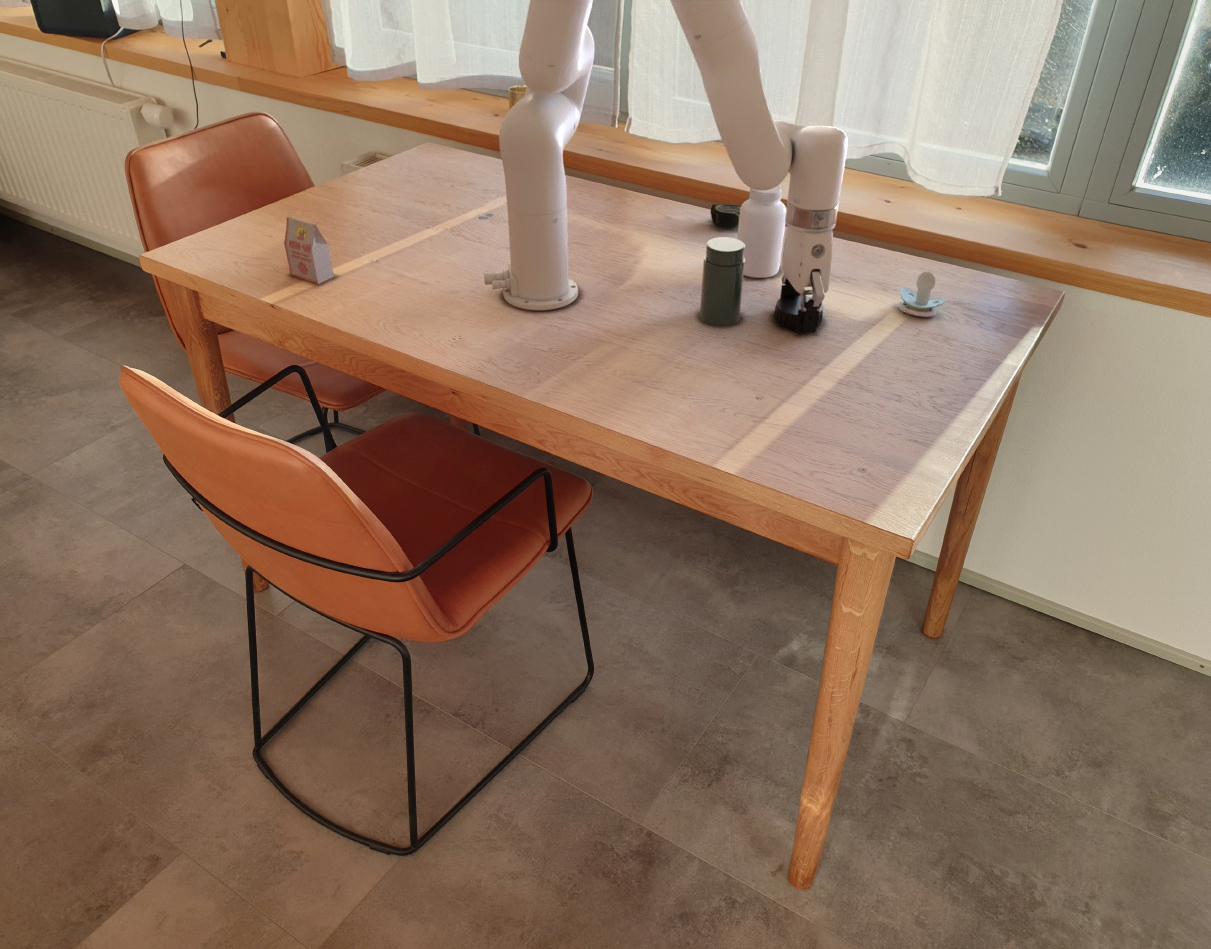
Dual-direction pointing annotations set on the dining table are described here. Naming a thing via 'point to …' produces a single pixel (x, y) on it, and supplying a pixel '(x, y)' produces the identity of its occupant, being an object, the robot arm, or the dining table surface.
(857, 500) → the dining table surface
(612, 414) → the dining table surface
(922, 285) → the pacifier
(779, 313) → the lid
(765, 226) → the pill bottle
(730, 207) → the tape measure
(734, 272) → the jar
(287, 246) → the white snack box
